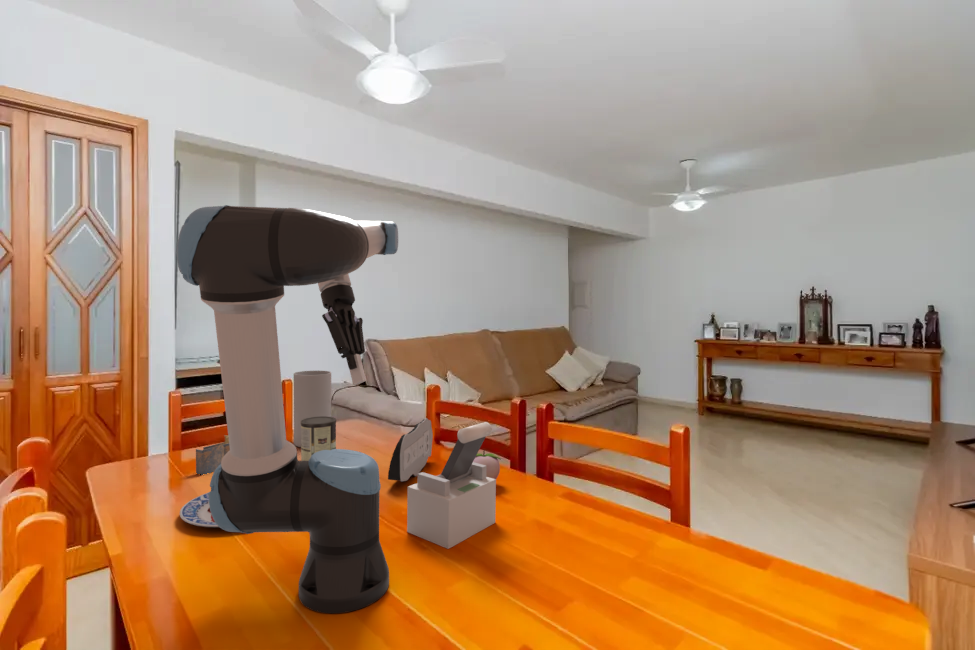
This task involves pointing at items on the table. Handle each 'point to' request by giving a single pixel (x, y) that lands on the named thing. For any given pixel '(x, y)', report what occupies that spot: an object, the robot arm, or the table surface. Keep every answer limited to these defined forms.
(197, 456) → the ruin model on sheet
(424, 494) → the box
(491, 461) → the decorative fruit
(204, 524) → the ceramic plate
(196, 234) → the robot arm
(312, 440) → the coffee can
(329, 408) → the cylinder vase
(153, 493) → the table surface
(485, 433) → the lever
